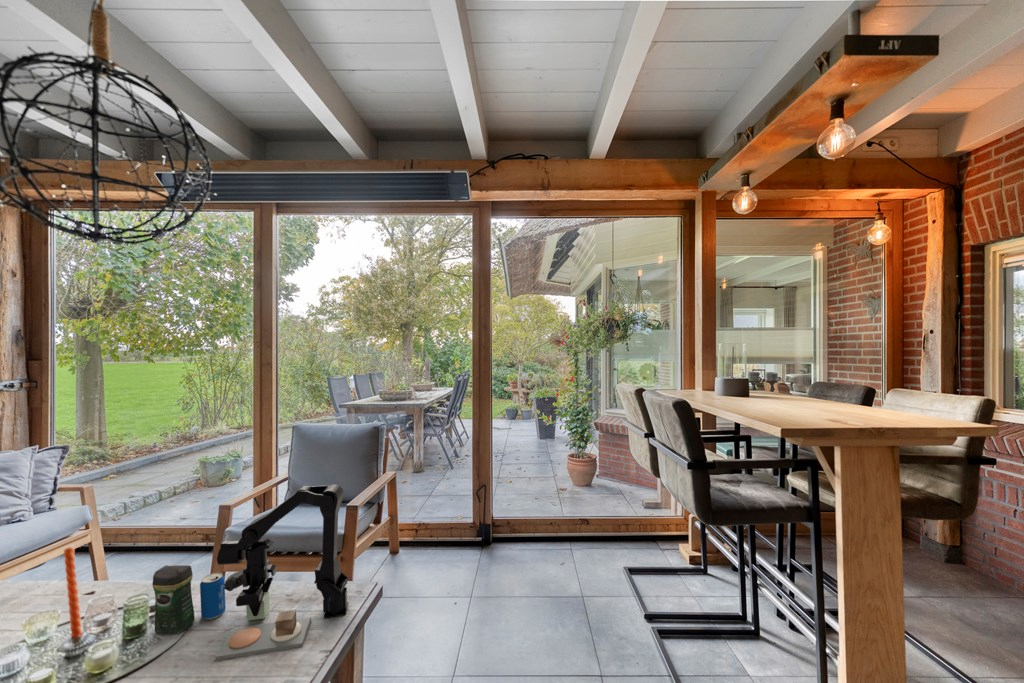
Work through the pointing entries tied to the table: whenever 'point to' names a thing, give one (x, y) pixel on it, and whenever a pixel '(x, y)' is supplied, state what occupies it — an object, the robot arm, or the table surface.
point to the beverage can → (212, 596)
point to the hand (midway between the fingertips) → (258, 610)
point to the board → (261, 639)
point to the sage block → (262, 611)
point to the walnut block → (285, 623)
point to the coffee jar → (173, 599)
